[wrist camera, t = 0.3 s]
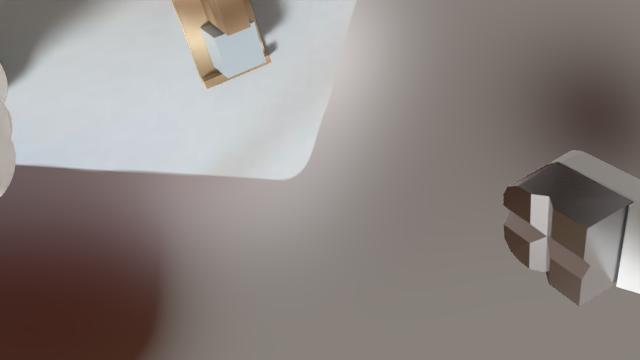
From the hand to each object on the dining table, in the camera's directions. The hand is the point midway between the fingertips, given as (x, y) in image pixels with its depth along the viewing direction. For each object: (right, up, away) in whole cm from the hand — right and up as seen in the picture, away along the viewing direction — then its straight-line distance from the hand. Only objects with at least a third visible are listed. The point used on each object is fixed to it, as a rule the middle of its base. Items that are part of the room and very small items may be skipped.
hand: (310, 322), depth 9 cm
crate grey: (-9, +16, +45) cm, 49 cm away
